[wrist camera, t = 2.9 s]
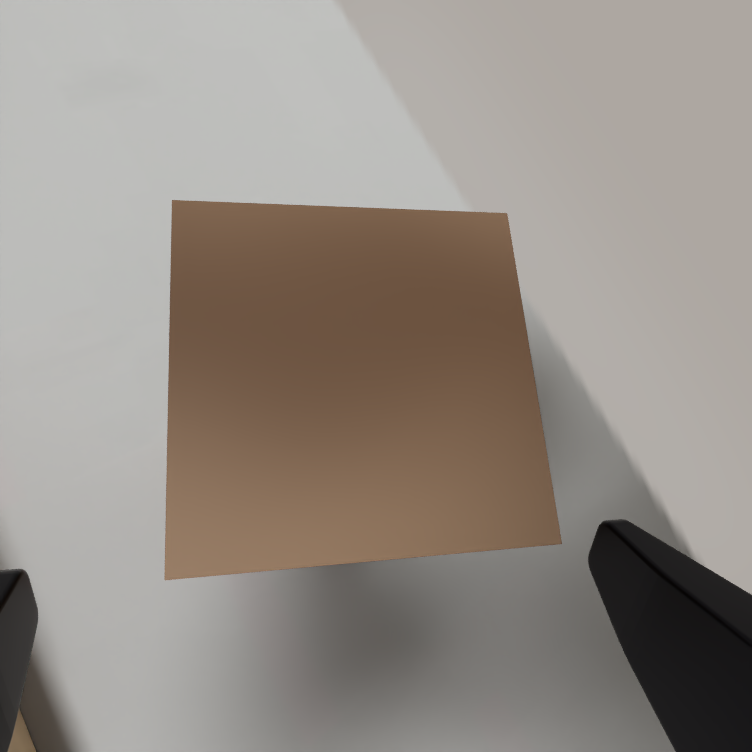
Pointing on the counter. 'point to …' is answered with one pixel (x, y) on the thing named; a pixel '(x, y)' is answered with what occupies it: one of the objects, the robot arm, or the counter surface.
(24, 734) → the plinth
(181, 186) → the counter surface
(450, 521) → the pillar
